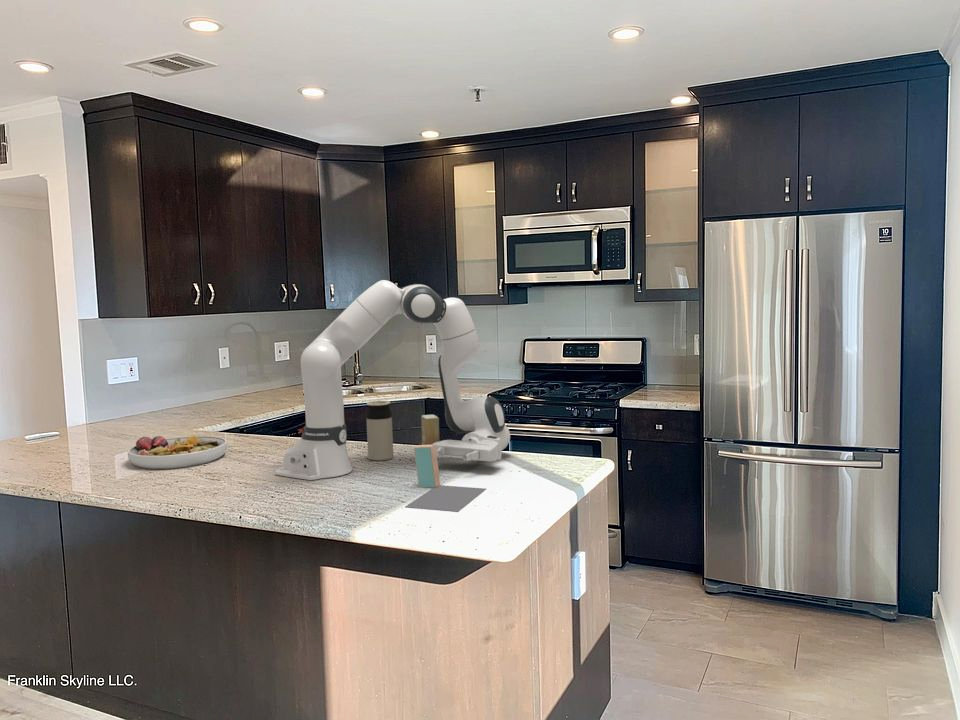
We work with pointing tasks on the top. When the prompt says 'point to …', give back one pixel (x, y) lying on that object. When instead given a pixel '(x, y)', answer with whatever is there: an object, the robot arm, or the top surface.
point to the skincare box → (430, 429)
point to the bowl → (176, 451)
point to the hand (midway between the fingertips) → (451, 456)
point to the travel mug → (379, 430)
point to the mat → (446, 498)
